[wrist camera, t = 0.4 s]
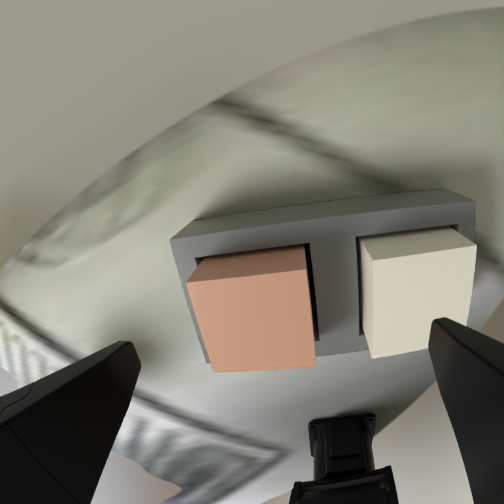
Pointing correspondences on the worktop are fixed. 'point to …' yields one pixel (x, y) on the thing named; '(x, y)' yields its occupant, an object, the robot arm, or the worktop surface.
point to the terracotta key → (255, 309)
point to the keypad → (323, 248)
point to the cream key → (412, 285)
